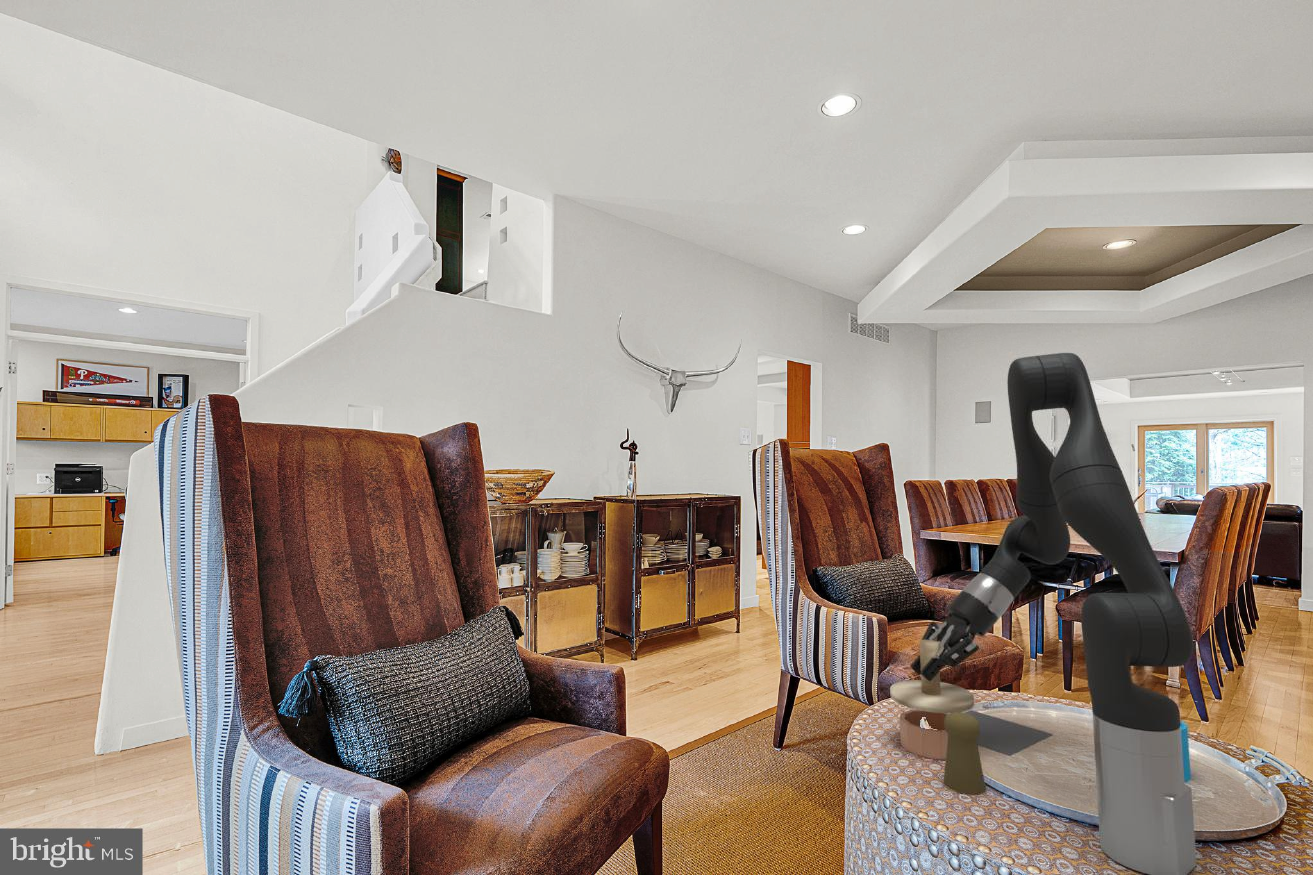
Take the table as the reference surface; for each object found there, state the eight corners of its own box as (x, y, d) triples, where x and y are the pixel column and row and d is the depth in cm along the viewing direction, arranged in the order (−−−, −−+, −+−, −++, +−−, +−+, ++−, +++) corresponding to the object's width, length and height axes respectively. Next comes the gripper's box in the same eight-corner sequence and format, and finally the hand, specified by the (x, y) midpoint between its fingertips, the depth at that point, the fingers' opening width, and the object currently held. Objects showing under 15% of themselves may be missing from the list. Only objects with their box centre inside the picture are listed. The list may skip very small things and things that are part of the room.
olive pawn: (976, 777, 105) (973, 708, 106) (992, 795, 99) (988, 722, 100) (938, 776, 105) (935, 707, 106) (951, 794, 99) (948, 721, 100)
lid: (989, 701, 115) (987, 643, 116) (945, 719, 107) (942, 656, 108) (919, 681, 127) (917, 629, 127) (874, 696, 119) (872, 640, 119)
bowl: (980, 751, 115) (978, 722, 115) (944, 767, 109) (943, 736, 109) (924, 732, 124) (923, 705, 124) (888, 745, 118) (887, 717, 118)
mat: (1053, 736, 121) (1053, 734, 121) (1010, 757, 112) (1009, 755, 112) (971, 712, 134) (971, 710, 134) (926, 729, 125) (926, 727, 125)
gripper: (945, 583, 126) (887, 649, 124) (988, 597, 112) (923, 671, 110) (973, 610, 126) (915, 676, 124) (1019, 627, 112) (955, 701, 110)
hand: (919, 673), depth 117 cm, fingers closed on lid, 3 cm apart
